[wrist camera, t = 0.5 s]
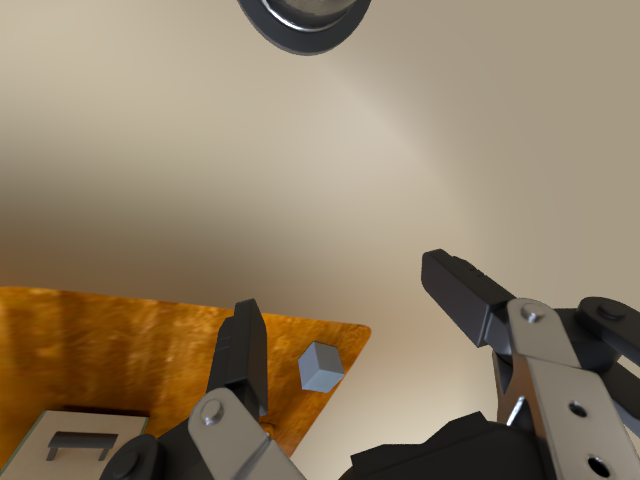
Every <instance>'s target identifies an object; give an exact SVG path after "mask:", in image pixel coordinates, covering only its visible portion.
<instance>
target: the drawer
mask: <svg viewBox="0 0 640 480" xmlns="http://www.w3.org/2000/svg"><path fill="white" fill-rule="evenodd" d="M145 420H146V417H132V416H118V415H104V414H90V413H76V412H62V411H47V412H46V413H45V414H44V416H43V417H42V419H41V420H40V422H39V423H38V424H37V426H36V427H35V429H34V430H33V431H32V433H31V434H30V436H29V437H28V439H27V440H26V441H25V443H24V444H23V446H22V447H21V448H20V450H19V451H18V453H17V454H16V456H15V457H14V458H13V460H12V461H11V463H10V464H9V465H8V467H7V468H6V470H5V471H4V473H3V474H2V475H1V477H0V480H99V479H100V476H101V474H102V472H103V470H104V468H105V467H106V465H107V463H108V462H109V461H110V459H111V458H112V457H113V455H114V454H115V453H116V452H117V451H118V450H119V449H120V448H121V447H122V446H123V445H124V444H126V443H127V442H128V441H130V440H131V439H133V438H135V437H137V436H139V435H140V433H141V430H142V428H143V425H144V422H145Z"/></svg>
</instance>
